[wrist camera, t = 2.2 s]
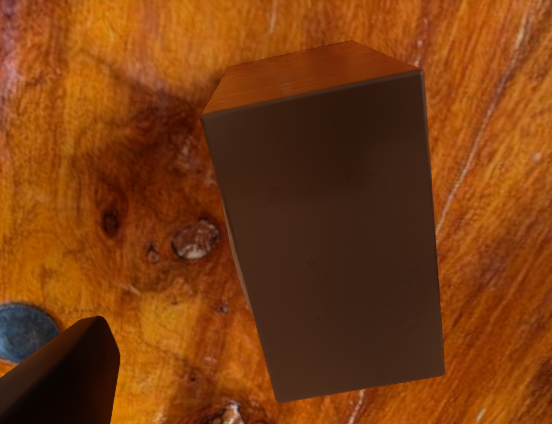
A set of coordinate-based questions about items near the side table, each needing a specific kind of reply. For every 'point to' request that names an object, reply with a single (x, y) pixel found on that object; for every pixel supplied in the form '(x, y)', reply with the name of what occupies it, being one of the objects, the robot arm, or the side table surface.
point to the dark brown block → (331, 216)
